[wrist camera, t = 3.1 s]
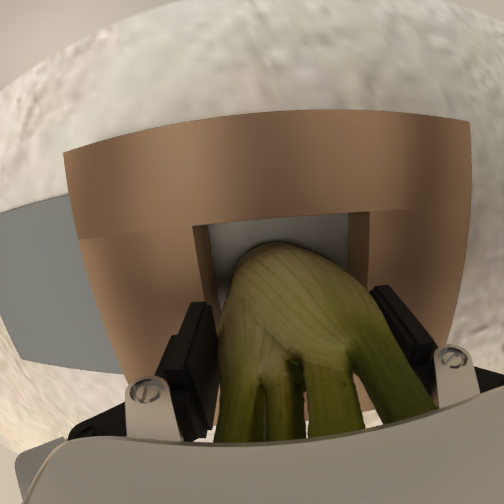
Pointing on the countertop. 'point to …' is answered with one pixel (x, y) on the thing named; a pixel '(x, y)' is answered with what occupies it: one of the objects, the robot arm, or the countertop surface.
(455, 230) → the pocket holder
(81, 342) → the mat
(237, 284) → the fennel bulb
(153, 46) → the countertop surface
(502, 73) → the countertop surface
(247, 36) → the countertop surface
